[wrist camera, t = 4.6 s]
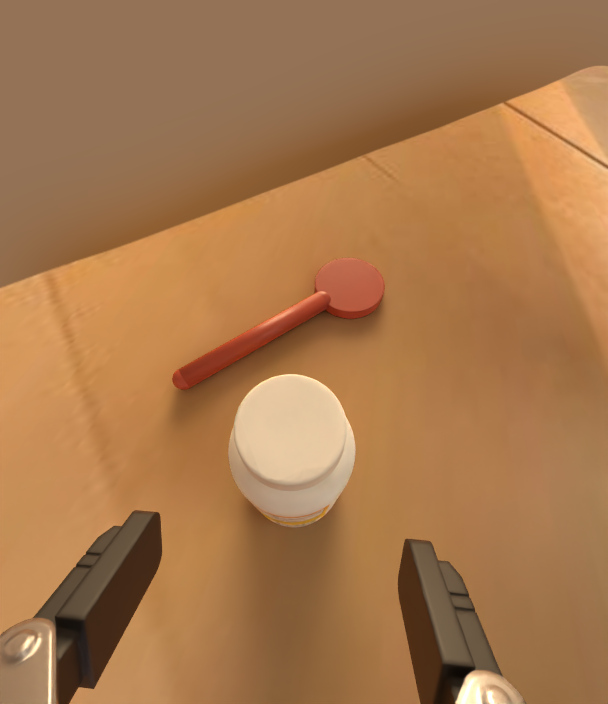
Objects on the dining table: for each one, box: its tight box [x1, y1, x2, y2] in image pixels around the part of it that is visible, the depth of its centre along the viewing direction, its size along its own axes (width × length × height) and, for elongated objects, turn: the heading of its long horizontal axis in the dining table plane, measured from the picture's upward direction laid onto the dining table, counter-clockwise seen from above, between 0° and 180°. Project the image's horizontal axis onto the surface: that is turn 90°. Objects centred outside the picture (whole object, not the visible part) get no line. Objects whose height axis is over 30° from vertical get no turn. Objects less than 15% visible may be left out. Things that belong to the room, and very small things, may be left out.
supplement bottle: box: [228, 374, 355, 527], centre depth 17 cm, size 5×5×10 cm
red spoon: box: [172, 258, 385, 390], centre depth 25 cm, size 17×5×1 cm, turn 125°
